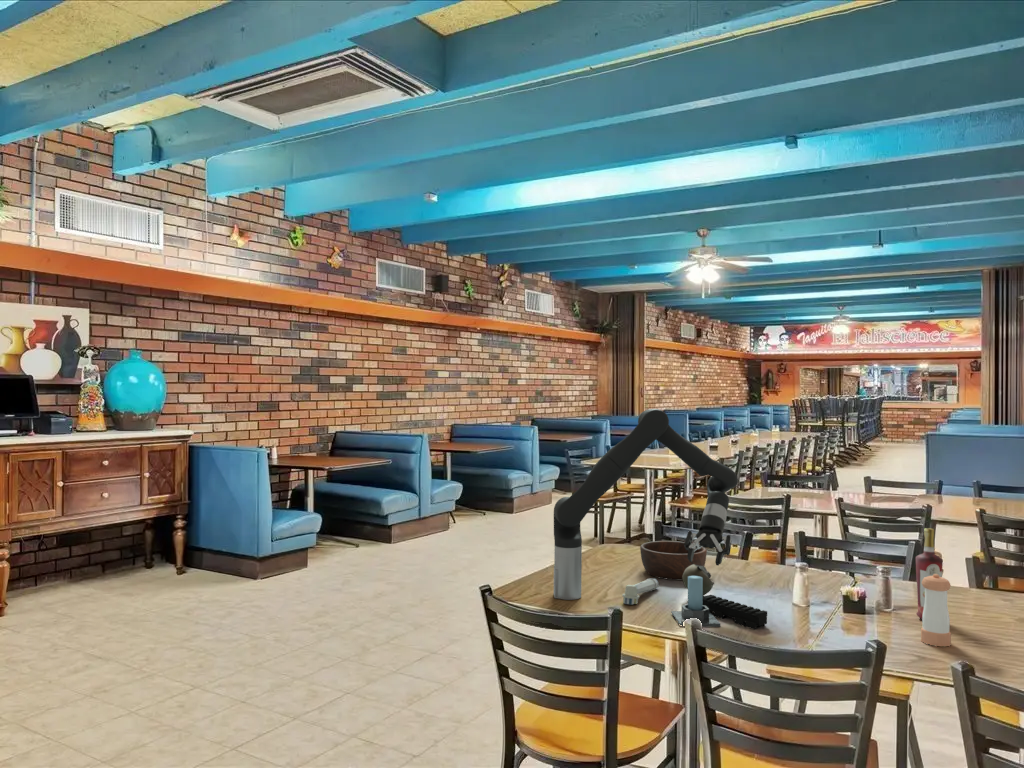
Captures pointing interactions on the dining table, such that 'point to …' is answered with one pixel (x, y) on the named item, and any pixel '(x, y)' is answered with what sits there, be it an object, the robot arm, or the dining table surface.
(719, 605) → the rail mount
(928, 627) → the salt shaker
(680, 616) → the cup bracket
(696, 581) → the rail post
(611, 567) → the dining table surface
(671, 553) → the wooden bowl
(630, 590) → the grey handheld tool
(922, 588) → the liquor
